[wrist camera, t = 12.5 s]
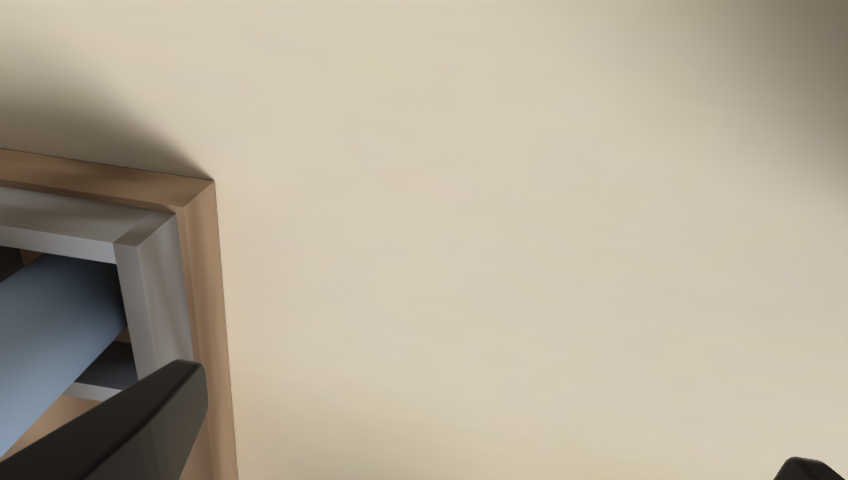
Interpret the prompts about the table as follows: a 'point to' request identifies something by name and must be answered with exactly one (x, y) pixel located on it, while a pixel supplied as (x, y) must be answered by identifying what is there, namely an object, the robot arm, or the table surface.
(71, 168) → the four-cup wooden tray
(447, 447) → the table surface
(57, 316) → the stool leg
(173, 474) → the robot arm
